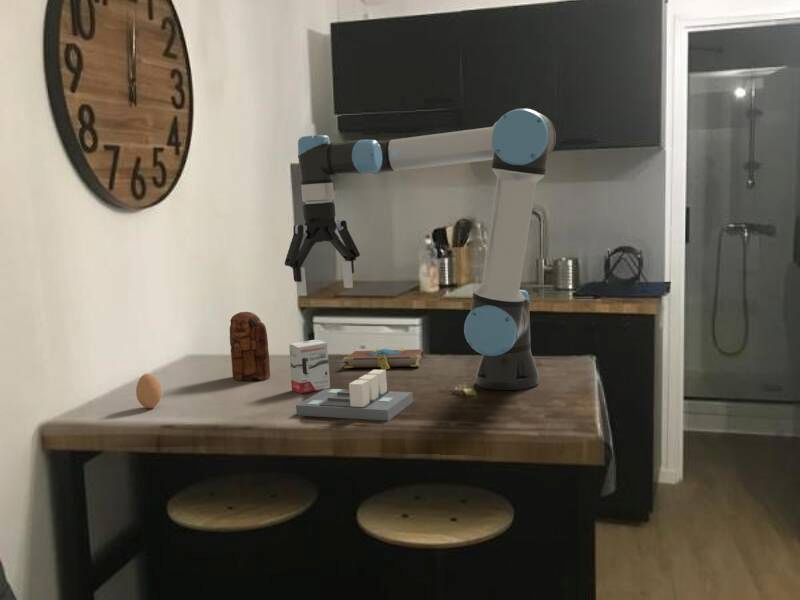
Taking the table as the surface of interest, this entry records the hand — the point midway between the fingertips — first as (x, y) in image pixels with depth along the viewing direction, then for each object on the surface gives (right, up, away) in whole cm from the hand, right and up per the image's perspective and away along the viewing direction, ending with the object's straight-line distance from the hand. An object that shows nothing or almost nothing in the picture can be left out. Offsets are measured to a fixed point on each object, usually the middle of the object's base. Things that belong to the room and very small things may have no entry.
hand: (325, 291), depth 203 cm
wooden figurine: (-22, -23, +24) cm, 40 cm away
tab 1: (+9, -25, -18) cm, 32 cm away
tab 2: (+11, -24, -13) cm, 30 cm away
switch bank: (+8, -27, -12) cm, 30 cm away
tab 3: (+13, -23, -9) cm, 28 cm away
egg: (-42, -28, -1) cm, 50 cm away
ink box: (-4, -24, +9) cm, 26 cm away
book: (+12, -21, +34) cm, 41 cm away
